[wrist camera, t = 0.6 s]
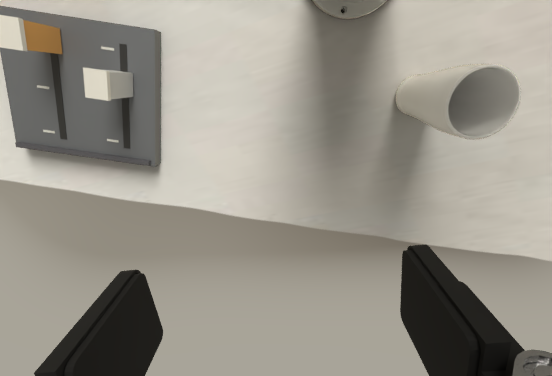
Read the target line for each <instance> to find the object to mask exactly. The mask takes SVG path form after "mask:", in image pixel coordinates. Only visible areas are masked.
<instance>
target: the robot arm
mask: <svg viewBox="0 0 552 376" xmlns="http://www.w3.org/2000/svg"><path fill="white" fill-rule="evenodd" d="M312 1H313V2H314V3H315V5H316V6H317V7H318V8H320V9H321V10H322V11H324V12H325V13H327V14H329V15H331V16H333V17H337V18H341V19H354V18H359V17H363V16H365V15H367V14H369V13H372V12H373V11H375V10H376V9H378V8H379V7H380V6H381V5H383V4H384V3H385V2H386V1H387V0H312ZM341 9H343V10H344V13H341ZM400 310H401V311H400V312H401V318H402V321H403V323H404V325H405V328H406V329H407V332H408V333H409V336H410V338H411V340H412V342H413V343H414V346H415V348H416V350H417V352H418V354H419V356H420V358H421V360H422V362H423V364H424V366H425V368H426V370H427V372H428V374H429V376H552V353H549V352H546V351H540V350H527V351H525V350H524V349H523V348H522V347H521V346H520V345H519V344H518V343H517V341H516V340H515V339H514V338H513V337H512V336H511V335H510V334H509V332H508V331H507V330H506V329H505V328H504V327H503V326H502V324H501V323H500V322H499V321H498V320H497V319H496V318H495V317H494V315H493V314H492V313H491V312H490V311H489V310H488V309H487V308H486V306H485V305H484V304H483V303H482V302H481V301H480V300H479V299H478V298H477V296H476V295H475V294H474V293H473V292H472V291H471V290H470V289H469V288H468V286H467V285H465V284H464V283H463V282H460V281H458V280H457V278H456V277H455V276H454V275H453V274H452V273H451V272H450V270H449V269H448V268H447V267H446V266H445V265H444V264H443V262H442V261H441V260H440V259H439V258H438V257H437V255H436V254H435V253H434V252H433V251H432V250H431V249H430V247H429V246H428V245H415V246H409V247H408V250H406V251H403V256H402V283H401V308H400ZM162 336H163V329H162V326H161V322H160V319H159V316H158V313H157V310H156V307H155V304H154V301H153V298H152V295H151V292H150V289H149V286H148V283H147V280H146V277H145V275H144V274H142V273H140V271H139V270H129V271H121V272H120V273H119V274H118V275H117V276H116V277H115V278H114V280H113V281H112V282H111V283H110V284H109V286H108V287H107V288H106V289H105V290H104V291H103V293H102V294H101V295H100V296H99V298H97V300H96V301H95V302H94V303H93V304H92V306H91V307H90V308H89V309H88V310H87V312H86V313H85V314H84V315H83V316H82V317H81V319H80V320H79V321H78V322H77V323H76V324H75V326H74V327H73V328H72V329H71V330H70V331H69V333H68V334H67V335H66V336H65V337H64V339H63V340H62V341H61V342H60V343H59V344H58V346H57V347H56V348H55V349H54V350H53V352H52V353H51V354H50V355H49V356H48V357H47V358H46V360H45V361H44V362H43V363H42V364H41V366H40V367H39V368H38V369H37V370H36V371H35V373H34V374H35V376H145V374H146V372H147V370H148V367H149V366H150V363H151V361H152V359H153V357H154V355H155V352H156V350H157V348H158V346H159V344H160V342H161V340H162Z"/></svg>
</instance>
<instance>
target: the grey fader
mask: <svg viewBox="0 0 552 376" xmlns="http://www.w3.org/2000/svg"><path fill="white" fill-rule="evenodd" d="M83 76H84V87H85V97H86V98H93V99H99V100H106V101H111V99H119V98H127V97H133V73H129V72H122V71H116V70H100V69H92V68H83Z"/></svg>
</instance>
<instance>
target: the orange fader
mask: <svg viewBox="0 0 552 376" xmlns="http://www.w3.org/2000/svg"><path fill="white" fill-rule="evenodd" d="M0 47H1V48H8V49H15V50H21V51H27V50H29V51H38V52H47V53H55V54H62V45H61V36H60V28H56V27H52V26H48V25H43V24H39V23H35V22H30V21H26V20H23V19H22V18H18V17H11V16H4V15H0Z"/></svg>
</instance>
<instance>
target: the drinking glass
mask: <svg viewBox="0 0 552 376" xmlns="http://www.w3.org/2000/svg"><path fill="white" fill-rule="evenodd" d="M520 98H521V88H520V84H519V81H518V79H517V77H516V76H515V74H514V73H513V72H512V71H511V70H509V69H508V68H506V67H504V66H501V65H497V64H470V65H462V66H456V67H451V68H447V69H443V70H439V71H434V72H430V73H426V74H418V75H413V76H410V77H408V78H407V79H405V80H404V81H403V82H402V83H401V84H400V86H399V87H398V89H397V92H396V104H397V106H398V108H399V110H400V111H401V112H403V113H404V114H407V115H410V116H412V117H414V118H416V119H418V120H420V121H422V122H424V123H425V124H427V125H429V126H431V127H433V128H435V129H437V130H439V131H441V132H444V133H447V134H450V135H453V136H457V137H461V138H465V139H473V140H474V139H482V138H486V137H489V136H491V135H493V134H495V133H497V132H499V131H500V130H501V129H503V128H504V127H505V126H506V125H507V124H508V123H509V122H510V121H511V119H512V118H513V116H514V115H515V113H516V111H517V109H518V106H519V103H520Z"/></svg>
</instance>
